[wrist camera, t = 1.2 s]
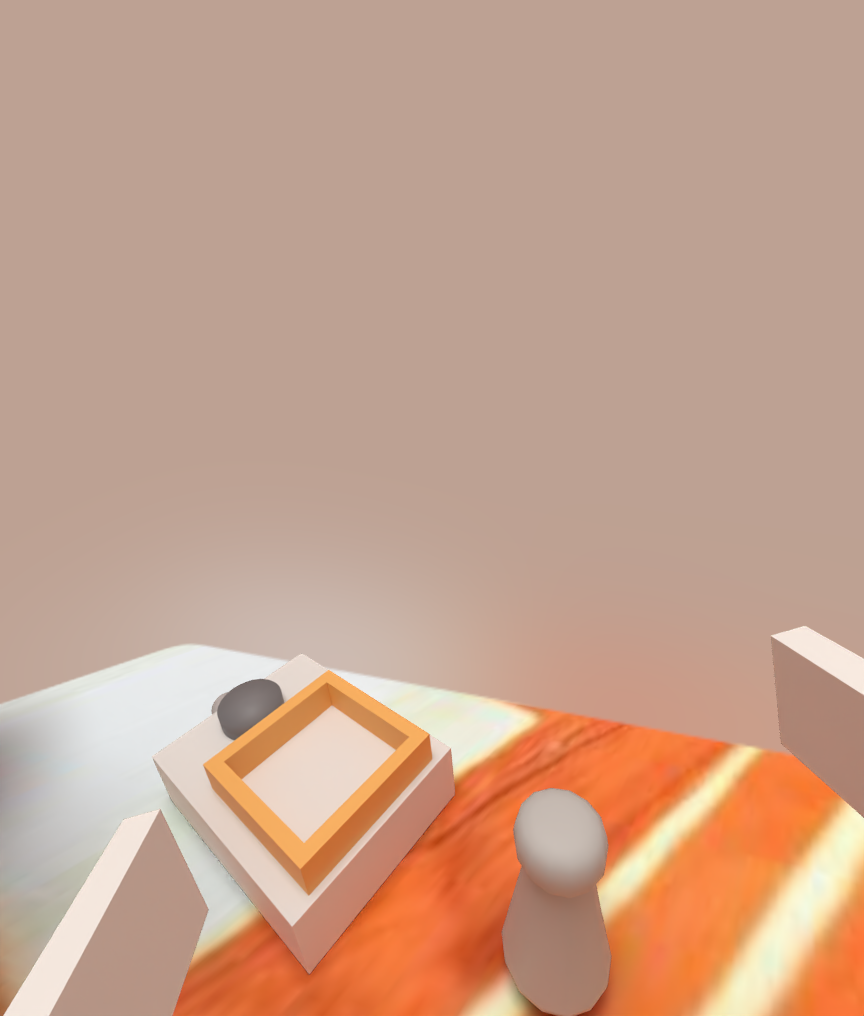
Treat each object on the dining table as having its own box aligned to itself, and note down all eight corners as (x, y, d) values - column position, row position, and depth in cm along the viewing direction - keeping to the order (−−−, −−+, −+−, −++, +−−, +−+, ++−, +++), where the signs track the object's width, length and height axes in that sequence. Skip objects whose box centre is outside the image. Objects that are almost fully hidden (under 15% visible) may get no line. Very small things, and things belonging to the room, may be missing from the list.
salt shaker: (483, 979, 28) (472, 833, 23) (533, 888, 32) (533, 746, 27) (582, 1069, 25) (596, 922, 20) (624, 955, 29) (645, 807, 23)
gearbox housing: (155, 780, 42) (125, 714, 39) (293, 679, 52) (277, 620, 48) (309, 974, 29) (282, 900, 26) (455, 793, 39) (448, 723, 36)
